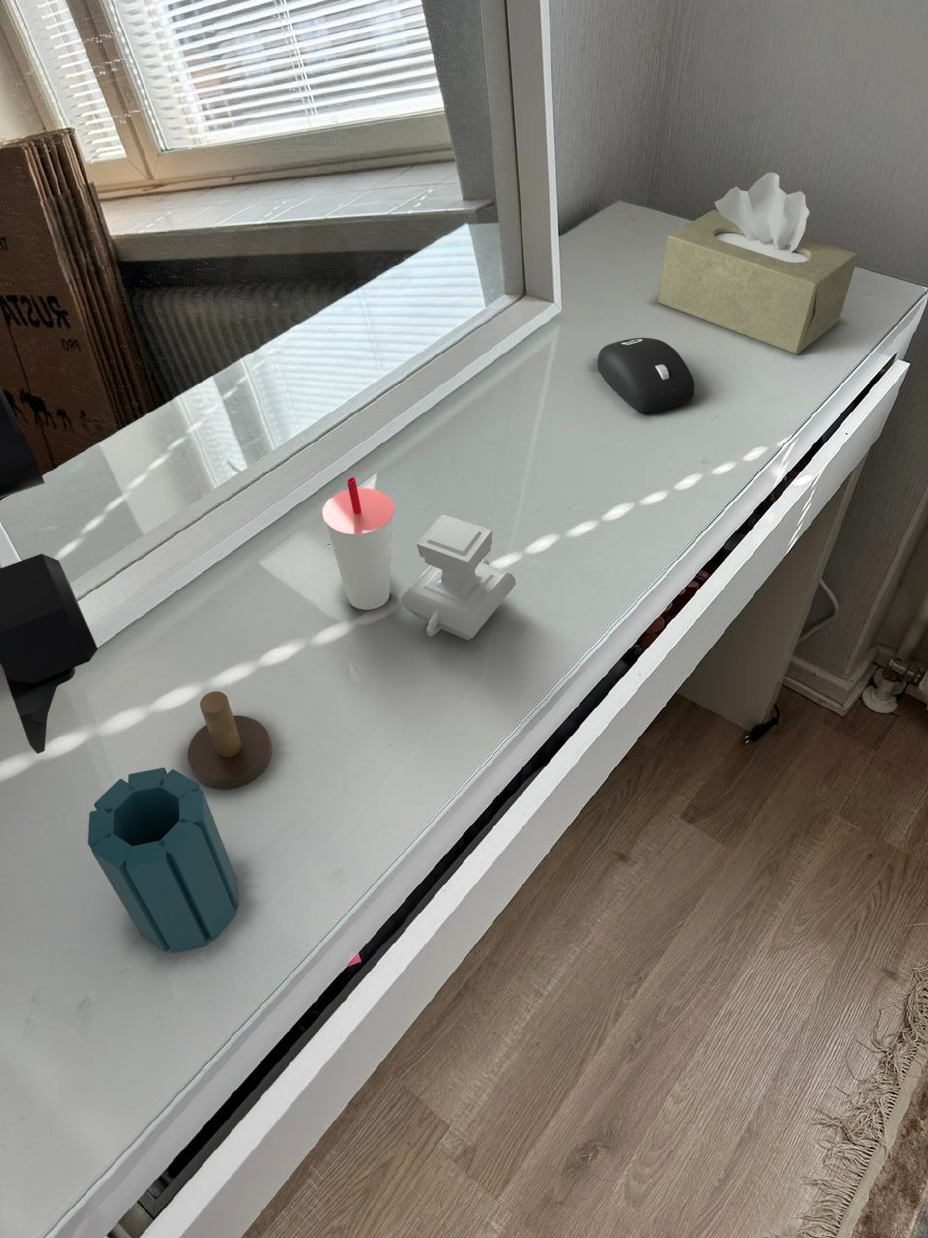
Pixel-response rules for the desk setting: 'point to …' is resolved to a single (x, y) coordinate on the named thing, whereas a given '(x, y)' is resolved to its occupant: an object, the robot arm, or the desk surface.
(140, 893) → the sleeve
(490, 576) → the stamp
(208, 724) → the dowel stand
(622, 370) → the computer mouse
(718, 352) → the desk surface
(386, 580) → the cup
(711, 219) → the tissue box
